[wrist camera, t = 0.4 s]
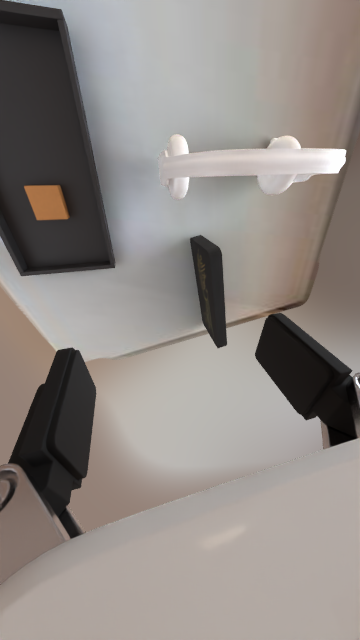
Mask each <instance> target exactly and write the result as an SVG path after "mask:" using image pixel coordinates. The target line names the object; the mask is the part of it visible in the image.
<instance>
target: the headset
mask: <svg viewBox="0 0 360 640" xmlns="http://www.w3.org/2000/svg"><path fill="white" fill-rule="evenodd" d="M345 153H346V150H342V149H301V147H300V144H299V142H298V141H297V140H296V139H295V138H294V137H291V136H282V137H280V138H277V139H276V138H273V139H271V141H270V145H269V146H268V147H267V149H234V150H217V151H205V152H196V153H189V152H188V146H187V143H186V140H185V138H184V137H183V136H181V135H178V134H175V135H173V136H171V137H170V139H169V141H168V146H167V150H163V151H162V152H161V154H160V155H159V156H158V165H159V175H160V183H161V185H162V186H165V187H167V186H168V187H169V192H170V195H171V197H172V198H174V199H176V200H180V199H182V198H184V197H185V195H186V193H187V189H188V184H189V177H210V176H241V175H257V178H258V184H259V187H260V189H261V190H262V191H263V192H264V193H265V194H268V195H277V194H280V193H281V192H283V191H285V190H286V189H287V188H288V187H289V186H290V185H291V184H292V182H303V181H306V180H308V179H309V178H310V177H311V176H312V175H315V174H329V173H338V172H339V169H340V168H341V167H342V166H343V165H344V163H345V160H346V159H345Z"/></svg>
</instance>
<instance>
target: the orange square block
mask: <svg viewBox="0 0 360 640" xmlns="http://www.w3.org/2000/svg"><path fill="white" fill-rule="evenodd" d="M24 188H25V191H26V193H27V196H28V198H29V201H30V204H31V206H32V209H33V211H34V214H35V216H36V219H37V220H59V219H68V218H70V216H69V213H68V209H67V206H66V203H65V199H64V196H63V193H62V189H61V186H60V185H27V186H24Z"/></svg>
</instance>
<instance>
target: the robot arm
mask: <svg viewBox="0 0 360 640" xmlns="http://www.w3.org/2000/svg"><path fill="white" fill-rule="evenodd" d="M255 356H256V359H257V360H258V362H259V363H260V364H261V366H262V367H263V368H264V369H265V371H266V372H267V373H268V375H269V376H270V377H271V379H272V380H273V381H274V383H275V384H276V385H277V386H278V388H279V389H280V391H281V392H282V393H283V394H284V396H285V397H286V398H287V400H288V401H289V402H290V404H291V405H292V406H293V408H294V409H295V410H296V411H297V412H298V413H299V414H301V415H302V416H303V417H304V419H305V420H309V419H312V418H315V417H316V416H318V417H319V418H320V420H321V428H322V438H323V449H324V450H321V451H318V452H315V453H312V454H309V455H306V456H303V457H300V458H297V459H294V460H291V461H288V462H285V463H282V464H279V465H276V466H274V467H270V468H268V469H264V470H262V471H259V472H256V473H253V474H250V475H247V476H244V477H241V478H238V479H235V480H232V481H229V482H226V483H223V484H220V485H217V486H215V487H212V488H209V489H206V490H203V491H200V492H197V493H194V494H192V495H189V496H186V497H183V498H180V499H177V500H174V501H171V502H168V503H165V504H162V505H160V506H157V507H154V508H151V509H148V510H145V511H143V512H140V513H137V514H134V515H132V516H129V517H126V518H123V519H121V520H118V521H115V522H112V523H110V524H107V525H104V526H102V527H99V528H96V529H94V530H91V531H89V532H87V533H86V531H85V530H84V528H83V527H82V526H81V524H80V523H79V521H78V519H77V518H76V516H75V515H74V514H73V512H72V511H71V509H70V507H69V506H68V504H69V503H70V497H71V490H74V489H78V488H80V487H81V482H82V478H85V477H86V475H87V470H88V460H89V452H90V443H91V435H92V426H93V417H94V408H95V399H96V387H95V385H94V383H93V380H92V378H91V376H90V374H89V371H88V369H87V367H86V365H85V362H84V360H83V358H82V356H81V353H80V351H79V350H75V349H74V348H67V349H61V350H58V351H57V352H56V355H55V358H54V360H53V363H52V366H51V368H50V372H49V374H48V377H47V379H46V382H45V384H42V385H40V386H39V388H38V390H37V392H36V394H35V397H34V399H33V402H32V404H31V407H30V409H29V413H28V415H27V417H26V420H25V422H24V425H23V427H22V430H21V432H20V435H19V437H18V440H17V442H16V445H15V447H14V450H13V452H12V455H11V458H10V460H9V462H8V464H4V465H1V466H0V640H360V373H357V374H355V375H354V376H353V377H351V376H350V375H349V374H350V373H351V372H352V370H351V369H350V368H349V367H347V366H346V365H345V364H344V363H342V362H341V361H340V360H339V359H338V358H336V357H335V356H334V355H333V354H331V353H330V352H329V351H328V350H327V349H325V348H324V347H323V346H322V345H320V344H319V343H318V342H317V341H316V340H314V339H313V338H312V337H311V336H309V335H308V334H307V333H306V332H305V331H303V330H302V329H301V328H300V327H298V326H297V325H296V324H295V323H294V322H292V321H291V320H290V319H289V318H287V317H286V316H285V315H283V314H282V313H277V314H271V315H269V316H268V318H267V319H266V320H265V324H264V327H263V330H262V333H261V336H260V340H259V343H258V346H257V349H256V353H255Z"/></svg>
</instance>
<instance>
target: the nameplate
mask: <svg viewBox="0 0 360 640" xmlns="http://www.w3.org/2000/svg"><path fill="white" fill-rule="evenodd" d="M190 243H191V249H192V256H193V262H194V269H195V275H196V282H197V288H198V295H199V301H200V308H201V314H202V321H203V324H204V326H205V327H206V329H207V331H208V333H209V334H210V336H211V338H212V339H213V341H214V343H215V345H216V346H217V348H220V347H223V346H226V345H227V338H226V319H225V302H224V284H223V267H222V253H221V250H220V248H219V247H218V246H216V245H215V244H213V243H212V242H210V241H209V240H207V239H206V238H204V237H203V236H201V235H200V236H196V237H193V238H191V239H190Z"/></svg>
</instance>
